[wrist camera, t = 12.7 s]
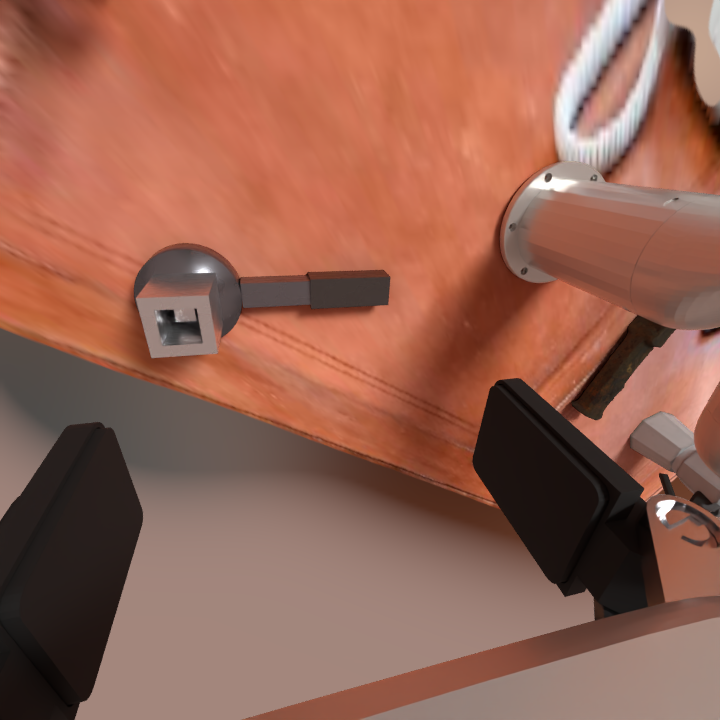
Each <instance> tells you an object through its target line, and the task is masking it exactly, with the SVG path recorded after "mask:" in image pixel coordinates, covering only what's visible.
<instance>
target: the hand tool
mask: <svg viewBox="0 0 720 720" xmlns="http://www.w3.org/2000/svg"><path fill="white" fill-rule="evenodd" d="M675 330H676V329H674V328H669V327H665V326H662V325H659V324H657V323H655V322H652V321H650V320H648V319H646V318H643V317H641V316H639V315H638V316H637V317H636V318H635V319H634V320H633V322H632V323H631V324H630V325H629V326H628V334H627V335H626V337H625V339H624V340H623V341H622V343H621V344H620V346H619V347H618V348H617V349H616V351H615V352H614V353H613V354H612V355H611V356H610V359H609V360H608V362H607V363H606V364H605V365H604V367H603V368H602V369H601V371H600V372H599V373H598V375H597V376H596V377H595V378H594V380H593V381H592V382H591V383H590V385H589V386H588V387H587V389H586V390H585V391H584V393H583V394H582V396H581V397H580V398H579V399H578V400H577V401H572V402H571V403H572V406H573V407H575V408H576V409H577V410H578V411H579V412H581V413H582V414H583V415H585V416H586V417H589V418H592V419H594V420H599V419H601V418H602V415H603V412H604V410H605V408H606V407H607V405H608V404H609V403H610V402H611V401H612V400H613V399H614V397H615V396H616V395H617V394H618V393H619V392H620V391H621V390H622V389H623V388H624V385H625V383H626V381H627V380H628V379H629V377H630V376H631V375H632V374H633V372H634V371H635V370H636V368H637V367H638V366H639V365H640V363H641V362H642V361H643V360H644V359H645V357H646V356H648V354H649V352H651V351H652V350H653V347H662V346H663V344H664V343H665V342H666V341H667V339H668V338H669V337H670V335H671V334H672V333H674V331H675Z"/></svg>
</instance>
